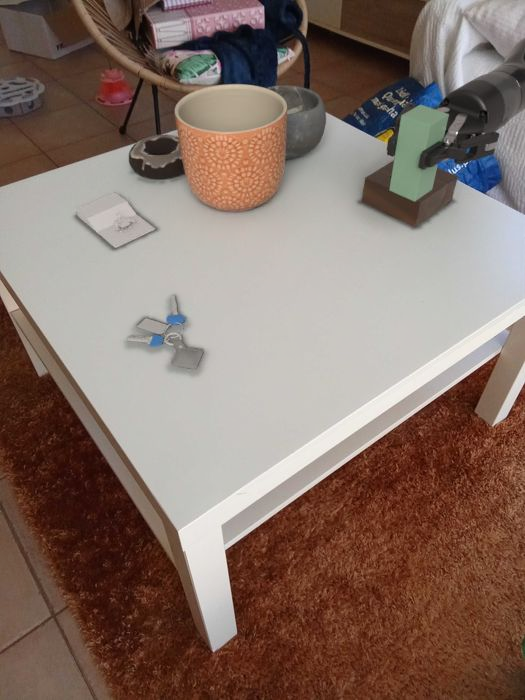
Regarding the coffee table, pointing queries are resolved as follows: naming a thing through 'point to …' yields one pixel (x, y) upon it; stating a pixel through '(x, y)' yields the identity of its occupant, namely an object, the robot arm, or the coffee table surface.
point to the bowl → (302, 119)
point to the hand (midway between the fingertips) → (406, 154)
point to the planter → (233, 144)
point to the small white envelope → (114, 219)
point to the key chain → (184, 354)
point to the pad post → (416, 151)
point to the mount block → (405, 208)
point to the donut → (157, 157)
